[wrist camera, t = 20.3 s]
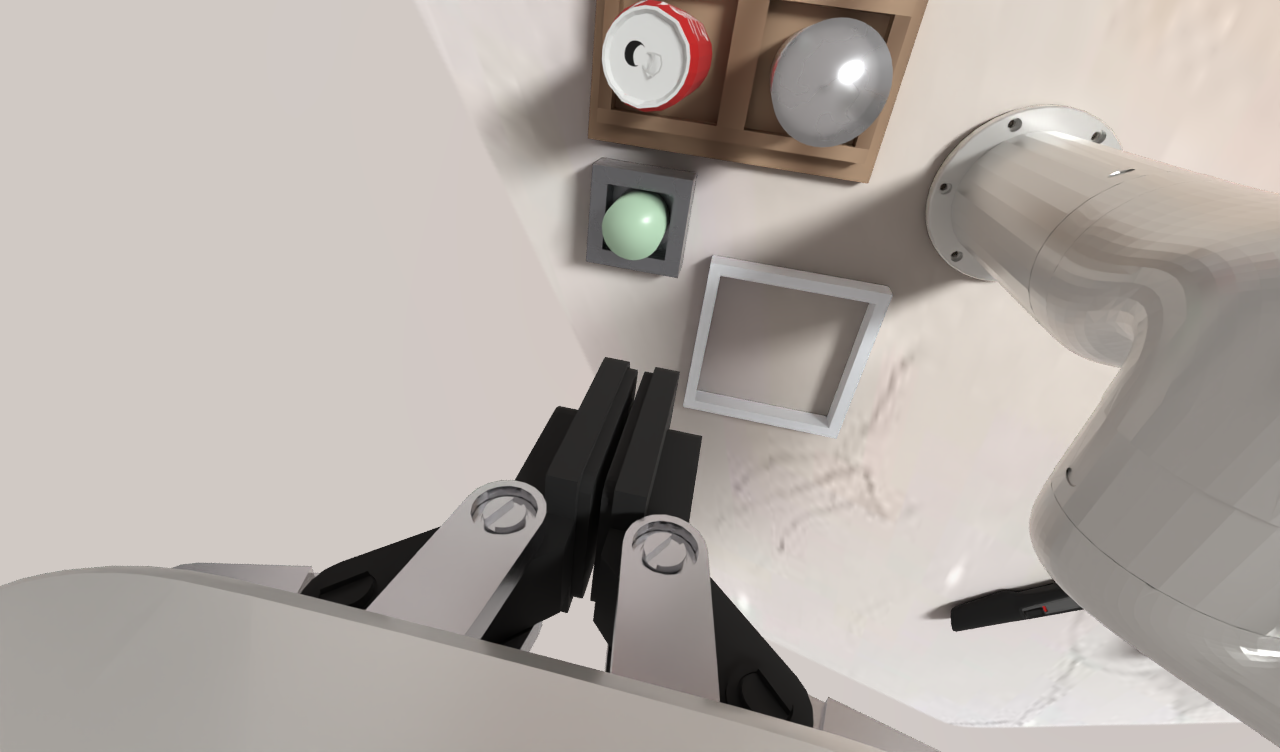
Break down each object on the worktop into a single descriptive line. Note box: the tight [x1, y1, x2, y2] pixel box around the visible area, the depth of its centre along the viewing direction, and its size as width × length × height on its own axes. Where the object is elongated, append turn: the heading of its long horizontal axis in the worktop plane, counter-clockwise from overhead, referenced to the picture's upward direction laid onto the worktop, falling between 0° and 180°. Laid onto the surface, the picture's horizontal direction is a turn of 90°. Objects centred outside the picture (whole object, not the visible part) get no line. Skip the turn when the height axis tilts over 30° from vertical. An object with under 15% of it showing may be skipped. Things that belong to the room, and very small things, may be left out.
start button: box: [602, 188, 669, 260], centre depth 45 cm, size 5×5×4 cm
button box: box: [586, 158, 697, 278], centre depth 46 cm, size 8×8×3 cm
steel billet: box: [769, 17, 893, 147], centre depth 34 cm, size 6×6×12 cm
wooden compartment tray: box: [588, 0, 928, 183], centre depth 39 cm, size 22×13×3 cm, turn 83°
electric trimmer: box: [951, 583, 1083, 632], centre depth 60 cm, size 4×16×3 cm, turn 124°
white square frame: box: [683, 255, 893, 439], centre depth 50 cm, size 15×15×2 cm
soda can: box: [602, 0, 712, 112], centre depth 35 cm, size 6×6×12 cm
